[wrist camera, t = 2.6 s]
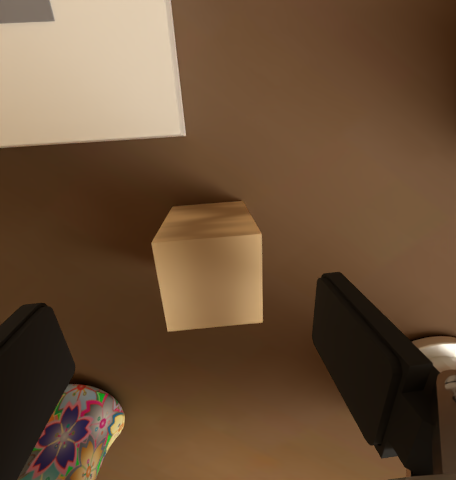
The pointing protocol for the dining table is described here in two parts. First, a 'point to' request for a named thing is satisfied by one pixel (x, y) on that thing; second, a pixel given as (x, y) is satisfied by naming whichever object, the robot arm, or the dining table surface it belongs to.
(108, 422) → the mug
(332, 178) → the dining table surface
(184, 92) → the dining table surface
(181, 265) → the maple block
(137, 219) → the dining table surface
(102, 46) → the base board
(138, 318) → the dining table surface
